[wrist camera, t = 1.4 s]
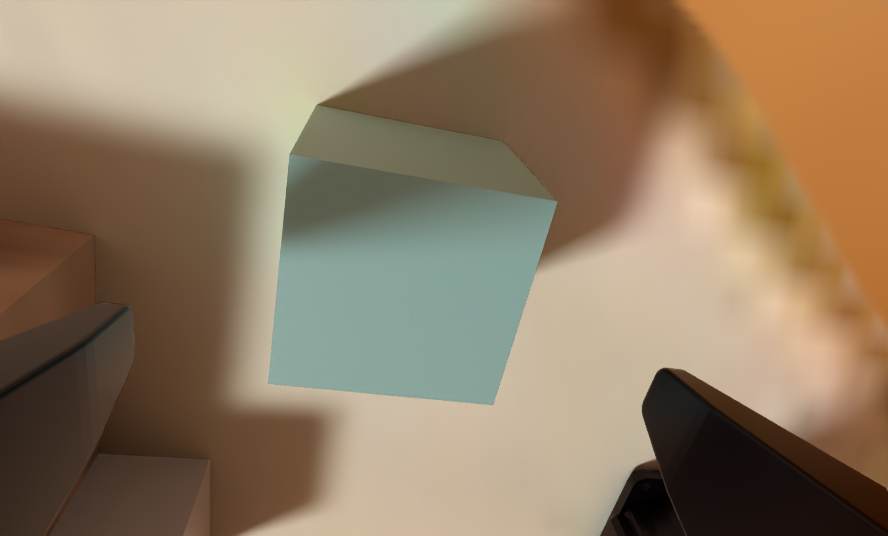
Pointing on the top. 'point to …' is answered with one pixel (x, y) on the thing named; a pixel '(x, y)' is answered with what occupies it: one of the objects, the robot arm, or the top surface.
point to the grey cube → (140, 498)
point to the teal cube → (403, 259)
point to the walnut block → (44, 285)
